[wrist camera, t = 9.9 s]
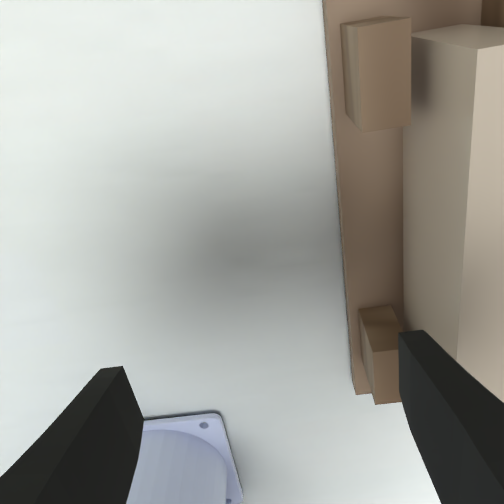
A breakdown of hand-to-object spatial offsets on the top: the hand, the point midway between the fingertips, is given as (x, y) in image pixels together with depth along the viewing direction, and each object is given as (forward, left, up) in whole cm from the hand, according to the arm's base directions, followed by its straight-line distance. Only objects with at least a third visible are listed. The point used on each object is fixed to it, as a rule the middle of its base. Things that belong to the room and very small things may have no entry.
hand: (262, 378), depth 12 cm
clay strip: (+7, 0, -8) cm, 11 cm away
